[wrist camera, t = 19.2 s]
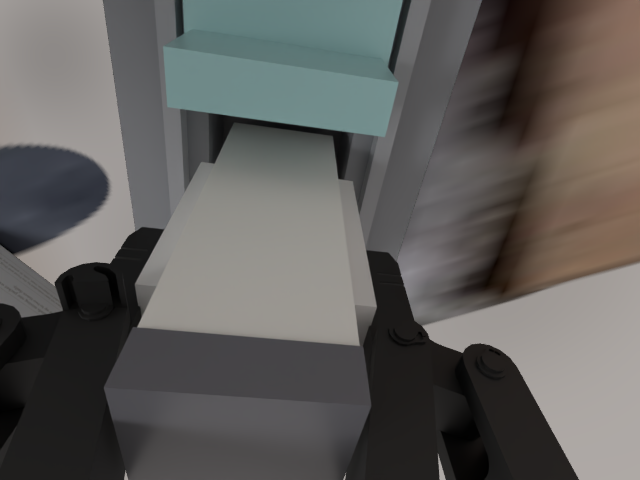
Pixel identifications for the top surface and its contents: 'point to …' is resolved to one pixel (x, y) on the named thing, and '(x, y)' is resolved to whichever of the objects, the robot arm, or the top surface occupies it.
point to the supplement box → (25, 288)
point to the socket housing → (350, 148)
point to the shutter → (287, 62)
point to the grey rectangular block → (249, 328)
